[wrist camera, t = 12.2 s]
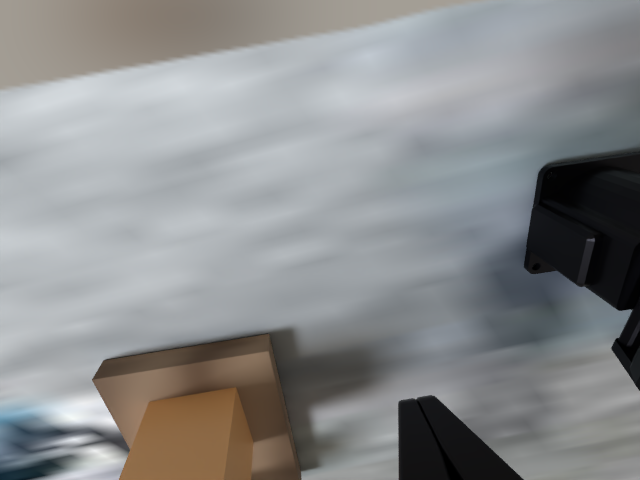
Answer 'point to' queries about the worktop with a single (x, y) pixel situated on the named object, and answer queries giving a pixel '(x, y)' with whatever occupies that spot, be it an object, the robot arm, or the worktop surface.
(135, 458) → the kraft paper carton
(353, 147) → the worktop surface
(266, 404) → the wooden holder
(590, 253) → the robot arm
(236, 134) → the worktop surface
